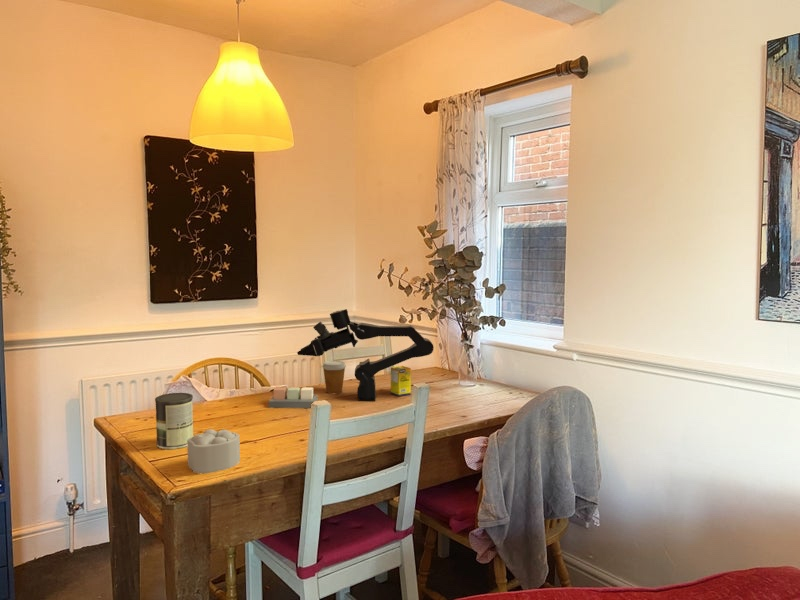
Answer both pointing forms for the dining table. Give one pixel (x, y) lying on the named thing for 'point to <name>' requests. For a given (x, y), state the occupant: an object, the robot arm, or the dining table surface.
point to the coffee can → (174, 420)
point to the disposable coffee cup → (334, 376)
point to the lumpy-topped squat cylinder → (213, 451)
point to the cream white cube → (306, 393)
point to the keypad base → (291, 403)
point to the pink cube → (280, 393)
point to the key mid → (293, 393)
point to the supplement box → (400, 380)
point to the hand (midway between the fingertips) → (299, 352)
